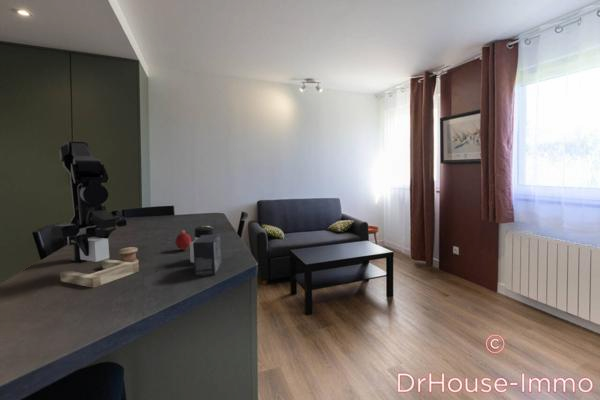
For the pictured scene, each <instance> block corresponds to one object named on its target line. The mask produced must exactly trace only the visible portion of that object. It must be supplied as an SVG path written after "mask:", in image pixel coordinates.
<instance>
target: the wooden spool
mask: <svg viewBox="0 0 600 400" xmlns="http://www.w3.org/2000/svg"><path fill="white" fill-rule="evenodd" d="M138 251H139V248H138V247H134V246H132V247H131V246H130V247H124V248H121V249H118V254H120V255H121V261H125V262H131V263H138V264H139V259H138V258H137V254H136V253H137V252H138Z"/></svg>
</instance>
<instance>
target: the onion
mask: <svg viewBox="0 0 600 400" xmlns="http://www.w3.org/2000/svg"><path fill="white" fill-rule="evenodd" d="M190 242H192V238H191V236H190V235H189V234H188V233H186V230H181V232H180V233H179V234H177V236H176V239H175V245H176V247H177V248H178V249H180V250H182V251H186V250H187V249H188V248H190Z"/></svg>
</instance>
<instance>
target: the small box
mask: <svg viewBox="0 0 600 400" xmlns="http://www.w3.org/2000/svg"><path fill="white" fill-rule="evenodd" d="M195 240H196V239H195ZM195 240H194V241H195ZM192 242H193V241H192ZM221 245H222V243H221V234H219V233H218V234H216V233H215V234H213V235H201V236H200V237H199V238H198V239H197V240H196V241H195V242H193V250H194V263H193V264H194V277H206V276H207V277H210V275H213V276H216V275H217V273H218V271H219V270H220V268H221V266H222V264H223V262H222V248H221Z"/></svg>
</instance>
